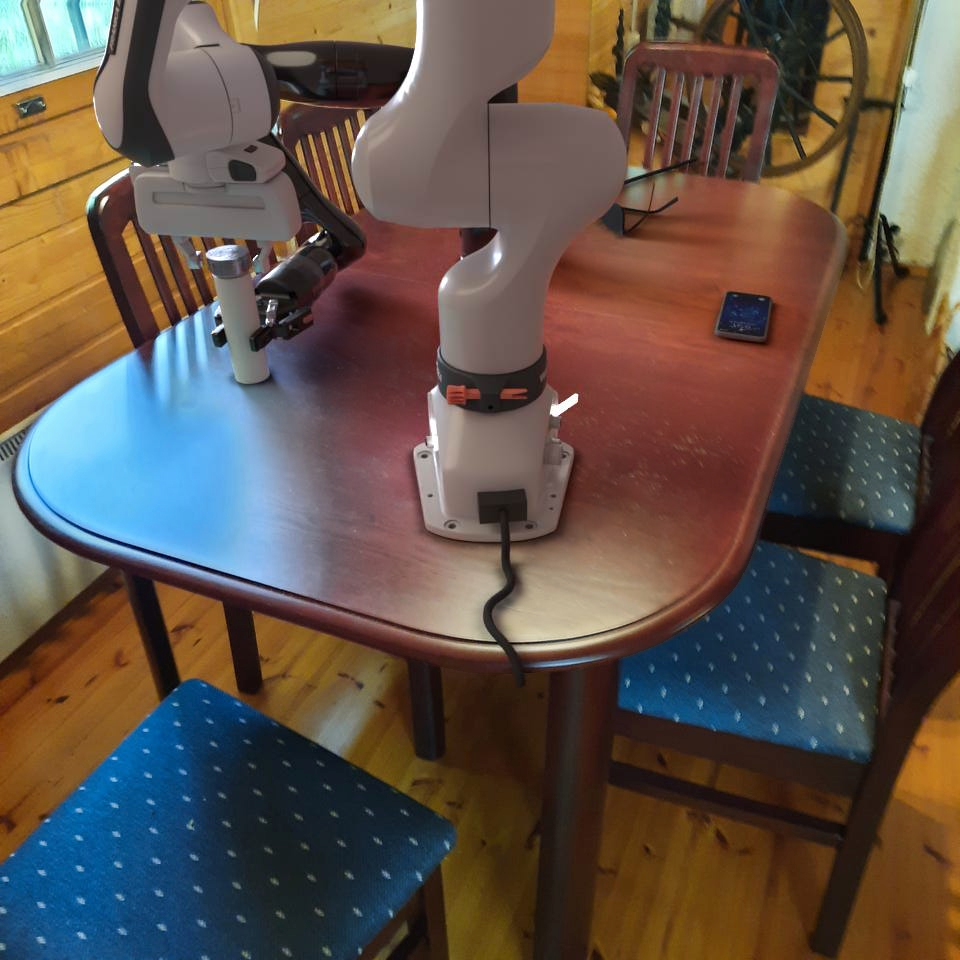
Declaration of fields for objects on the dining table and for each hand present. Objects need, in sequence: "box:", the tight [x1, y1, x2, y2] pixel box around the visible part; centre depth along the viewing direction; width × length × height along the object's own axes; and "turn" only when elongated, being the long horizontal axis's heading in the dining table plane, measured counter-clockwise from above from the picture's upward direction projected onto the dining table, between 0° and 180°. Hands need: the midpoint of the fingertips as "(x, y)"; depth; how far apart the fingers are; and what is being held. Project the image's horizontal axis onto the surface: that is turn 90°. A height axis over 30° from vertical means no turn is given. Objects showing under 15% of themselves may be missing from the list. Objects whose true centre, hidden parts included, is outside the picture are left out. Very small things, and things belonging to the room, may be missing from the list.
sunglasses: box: [597, 181, 679, 236], centre depth 161 cm, size 17×14×5 cm
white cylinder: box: [212, 268, 271, 385], centre depth 113 cm, size 5×5×17 cm
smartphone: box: [714, 290, 774, 343], centre depth 128 cm, size 7×1×15 cm
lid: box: [205, 244, 253, 276], centre depth 108 cm, size 5×5×2 cm
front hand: (229, 269), depth 108 cm, fingers open, 8 cm apart
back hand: (234, 343), depth 112 cm, fingers closed on white cylinder, 4 cm apart
